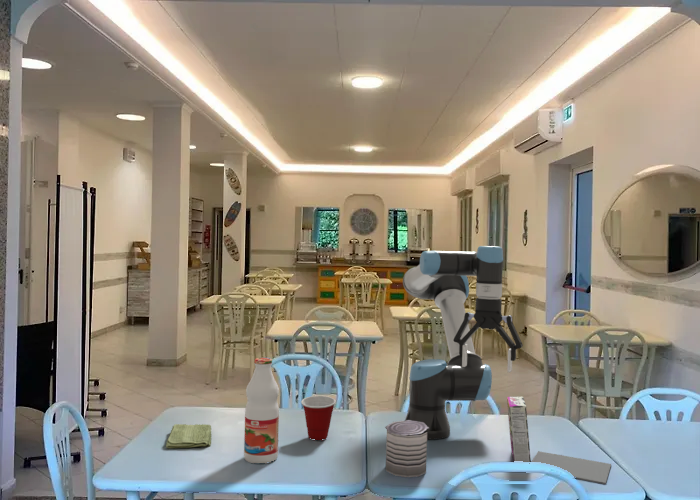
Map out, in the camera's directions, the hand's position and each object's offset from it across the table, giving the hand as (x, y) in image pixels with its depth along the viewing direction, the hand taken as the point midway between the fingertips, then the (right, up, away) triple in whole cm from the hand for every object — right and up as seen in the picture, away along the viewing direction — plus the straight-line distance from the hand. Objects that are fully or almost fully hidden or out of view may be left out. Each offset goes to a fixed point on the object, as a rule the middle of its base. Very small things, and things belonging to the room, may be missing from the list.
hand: (486, 368), depth 180 cm
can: (-26, -24, -17) cm, 39 cm away
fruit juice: (-66, -23, -11) cm, 71 cm away
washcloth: (-90, -23, +4) cm, 93 cm away
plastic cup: (-51, -23, +8) cm, 57 cm away
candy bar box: (+9, -25, -5) cm, 27 cm away
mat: (+20, -25, -12) cm, 35 cm away
